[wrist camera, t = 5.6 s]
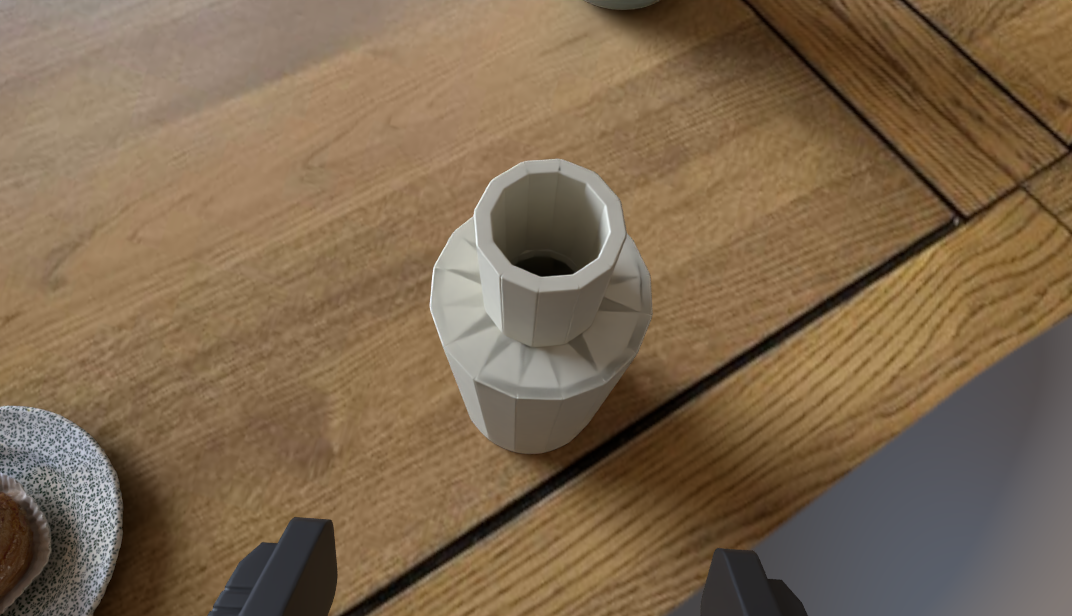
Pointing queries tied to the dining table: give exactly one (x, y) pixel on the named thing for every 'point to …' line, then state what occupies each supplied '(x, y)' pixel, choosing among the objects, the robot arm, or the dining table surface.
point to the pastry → (55, 516)
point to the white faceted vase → (540, 304)
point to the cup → (622, 4)
